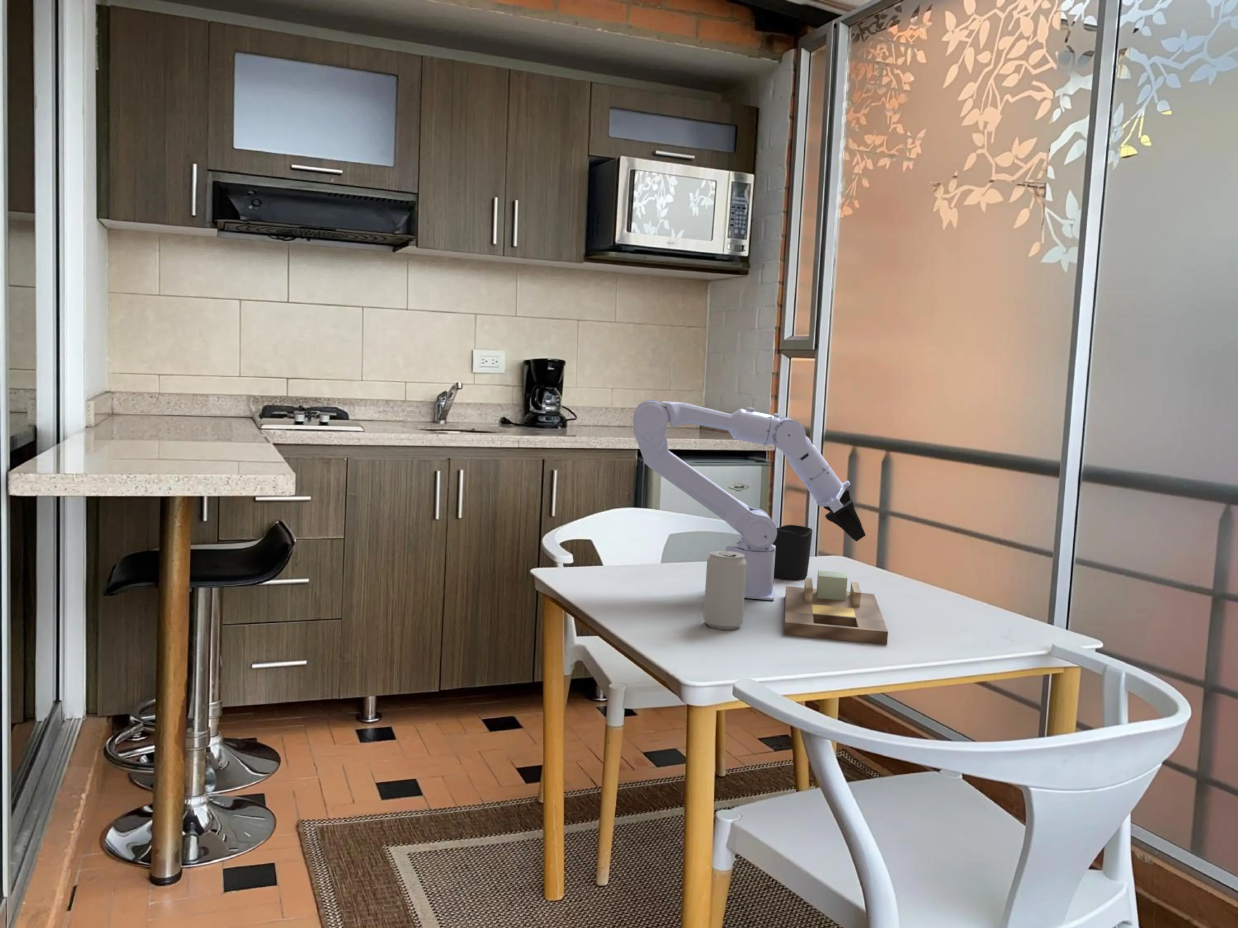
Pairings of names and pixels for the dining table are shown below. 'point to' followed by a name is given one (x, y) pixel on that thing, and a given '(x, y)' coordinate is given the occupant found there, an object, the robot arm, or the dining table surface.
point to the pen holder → (792, 552)
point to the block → (831, 585)
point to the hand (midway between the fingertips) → (859, 533)
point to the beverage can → (725, 589)
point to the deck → (834, 615)
